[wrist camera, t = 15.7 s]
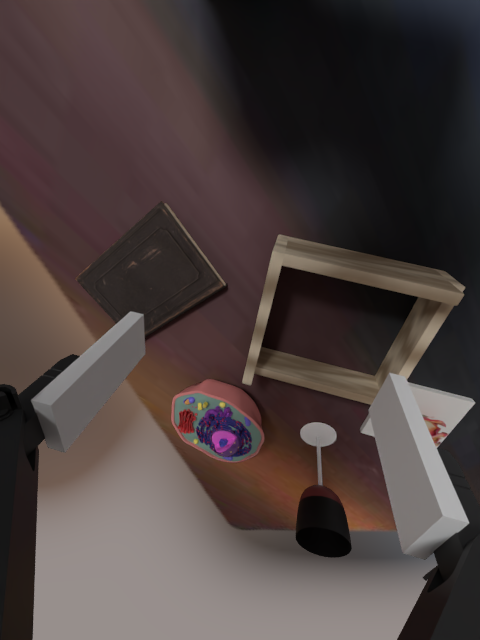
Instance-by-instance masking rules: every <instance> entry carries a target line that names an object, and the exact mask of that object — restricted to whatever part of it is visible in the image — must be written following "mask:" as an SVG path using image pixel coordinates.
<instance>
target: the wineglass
mask: <svg viewBox="0 0 480 640" xmlns="http://www.w3.org/2000/svg"><path fill="white" fill-rule="evenodd" d="M300 435H301V438H302V439H303V441H305V442H306V443H307V444H310V445H312V446H317V466H318V485H313V486H310V487H308V488H307V489H306V490H305V491H304V492H303V494H302V496H301V499H300V502H299V507H298V513H297V523H296V540H297V542H298V543H299V545H300V546H302V547H303V548H304V549H306V550H307V551H309V552H311V553H314V554H317V555H320V556H324V557H342V556H345V555H347V554H349V552H350V551H351V540H350V534H349V528H348V523H347V518H346V514H345V511H344V508H343V505H342V503H341V501H340V499H339V498H338V496H337V495H336V494H335V493H334V492H333V491H332V490H330V489H329V488H327V487H325V486H323V484H322V465H321V447H324V446H328V445H330V444H332V443H333V442H334V441H335V440H336V437H337V435H336V432H335V430H334V429H333V428H332V427H331V426H329V425H327V424H325V423H319V422H313V423H309V424H306V425H305V426H303V427H302V429H301V431H300Z"/></svg>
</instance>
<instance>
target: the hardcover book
mask: <svg viewBox="0 0 480 640" xmlns="http://www.w3.org/2000/svg"><path fill="white" fill-rule="evenodd" d="M75 279H76V280H77V281H78V282H79V284H80V285H81V286H82V287H83V288H84V289H85V290H86V291H87V292H88V293H89V294H90V295H91V297H92V298H93V299H94V300H95V301H96V302H97V303H98V304H99V305H100V306H101V307H102V308H103V310H104V311H105V312H106V313H107V314H108V315H109V316H110V317H111V318H112V319H113V320H114V321H115V323H116V324H117V323H118V322H119V321H120V320H121V319H122V318H124V317H125V316H126V315H127V314H128V313H129V312H130V311H131V312H136V313H140V314H144V334H145V337H146V336H148V335H149V334H151V333H153V332H154V331H156V330H157V329H159V328H161V327H162V326H164V325H165V324H167V323H169V322H170V321H172V320H173V319H175V318H177V317H178V316H180V315H182V314H183V313H185V312H186V311H188V310H190V309H191V308H193V307H194V306H196V305H198V304H199V303H201V302H203V301H204V300H206V299H207V298H209V297H211V296H212V295H214V294H215V293H217V292H219V291H220V290H222V289H224V288H225V287H226V286H227V284H225V282H224V281H223V280H222V278H221V277H220V276H219V274H218V273H217V272H216V270H215V269H214V267H213V266H212V265H211V263H210V262H209V261H208V259H207V258H206V257H205V255H204V254H203V252H202V251H201V250H200V248H199V247H198V246H197V244H196V243H195V242H194V240H193V239H192V237H191V236H190V235H189V233H188V232H187V231H186V229H185V228H184V227H183V225H182V224H181V222H180V221H179V220H178V218H177V217H176V216H175V214H174V213H173V212H172V210H171V209H170V208H169V206H168V205H167V203H166V204H164V203H163V202H162V201H161V202H160V203H159V204H158V205H156V206H155V207H154V208H153V209H152V210H151V211H150V212H149V213H148V214H146V215H145V216H144V217H143V218H142V219H141V220H140V221H139V222H138V223H136V224H135V225H134V226H133V227H132V228H131V229H130V230H129V231H128V232H126V233H125V234H124V235H123V236H122V237H121V238H120V239H119V240H118V241H116V242H115V243H114V244H113V245H112V246H111V247H110V248H109V249H107V250H106V251H105V252H104V253H103V254H102V255H101V256H100V257H99V258H97V259H96V260H95V261H94V262H93V263H92V264H91V265H90V266H89V267H87V268H86V269H85V270H84V271H83V272H82V273H81V274H80V275H79V276H77V277H76V278H75Z"/></svg>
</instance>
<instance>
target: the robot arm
mask: <svg viewBox="0 0 480 640" xmlns="http://www.w3.org/2000/svg"><path fill="white" fill-rule="evenodd" d="M144 355H145V334H144V314H140V313H136V312H131V311H130V312H129V313H128V314H127V315H126V316H125V317H124V318H122V319H121V320H120V321H119V322H118V323H117V324H116V325H115V326H113V327H112V328H111V329H110V330H109V331H108V332H107V333H106V334H105V335H103V336H102V337H101V338H100V339H99V340H98V341H97V342H96V343H94V344H93V345H92V346H91V347H90V348H89V349H88V350H87V351H85V352H84V353H83V354H82V355H81V356H77V355H74V354H72V355H70V356H68V357H66V358H64V359H61V360H60V361H59V362H57V363H56V364H55V365H54V366H53V367H52V368H51V369H50V370H48V371H47V372H45V373H44V375H43V376H41V377H39V378H38V379H37V380H36V381H35V382H33V383H32V384H31V385H30V386H29V387H27V388H26V389H25V390H24V391H23V392H21V393H20V394H19V395H18V394H17V392H16V389H15V388H14V387H12V386H10V385H5V384H2V385H0V640H32V638H33V609H34V578H35V577H34V576H35V550H36V521H37V491H38V490H37V489H38V462H39V450H38V445H39V444H40V443H41V442H42V441H43V440H44V439H45V441H46V444H47V447H48V448H51V449H55V450H58V451H61V452H66V451H67V450H68V448H69V447H70V446H71V445H72V443H73V442H74V441H75V440H76V439H77V437H78V436H79V435H80V434H81V432H82V431H83V430H84V429H85V427H86V426H87V425H88V424H89V423H90V421H91V420H92V419H93V418H94V416H95V415H96V414H97V413H98V411H99V410H100V409H101V408H102V406H103V405H104V404H105V403H106V402H107V400H108V399H109V398H110V397H111V395H112V394H113V393H114V392H115V391H116V389H117V388H118V387H119V386H120V384H121V383H122V382H123V381H124V379H125V378H126V377H127V376H128V374H129V373H130V372H131V371H132V370H133V368H134V367H135V366H136V365H137V363H138V362H139V361H140V360H141V358H142V357H143V356H144ZM369 414H370V418H371V423H372V427H373V431H374V435H375V439H376V444H377V448H378V452H379V456H380V460H381V464H382V469H383V473H384V477H385V481H386V485H387V490H388V494H389V498H390V502H391V506H392V510H393V515H394V519H395V523H396V527H397V531H398V536H399V540H400V544H401V548H402V552H403V553H404V554H408V555H411V556H414V557H418V558H421V559H424V560H425V559H427V558H428V557H429V556H430V555H431V554H433V553H434V554H435V558H436V561H437V564H438V566H436V567H435V568H434V569H432V570H431V571H430V572H428V573H427V574H426V575H425V576H424V577H423V578H424V579H425V580H427V579H428V581H427V583H426V585H425V587H424V589H423V590H422V593H421V594H420V596H419V598H418V600H417V602H416V604H415V606H414V608H413V610H412V612H411V614H410V616H409V618H408V620H407V622H406V623H405V626H404V627H403V629H402V631H401V633H400V635H399V637H398V639H397V640H480V506H479V504H478V502H477V500H476V498H475V496H474V494H473V492H472V491H471V490H470V489H471V488H470V486H469V484H468V482H467V480H465V476H464V474H463V472H462V470H461V468H460V465H459V464H458V462H457V461H456V460H455V459H454V458H453V456H452V455H451V454H450V453H449V452H448V451H447V450H443V449H439V448H436V446H435V444H434V441H433V439H432V437H431V434H430V432H429V430H428V428H427V425H426V423H425V421H424V419H423V416H422V414H421V412H420V409H419V407H418V405H417V403H416V400H415V398H414V396H413V393H412V391H411V389H410V387H409V384H408V382H407V380H406V378H405V376H401V375H397V374H393V373H389V374H388V376H387V378H386V379H385V381H384V383H383V385H382V387H381V388H380V390H379V392H378V394H377V396H376V397H375V399H374V401H373V403H372V404H371V406H370V408H369Z"/></svg>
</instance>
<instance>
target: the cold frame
mask: <svg viewBox="0 0 480 640" xmlns="http://www.w3.org/2000/svg"><path fill="white" fill-rule="evenodd" d="M281 266H287V267H291V268H295V269H300V270H304V271H308V272H313V273H317V274H321V275H326V276H330V277H334V278H339V279H343V280H347V281H352V282H356V283H360V284H365V285H369V286H373V287H378V288H382V289H386V290H391V291H395V292H399V293H404V294H408V295H412V296H417V297H418V299H417V301H416V302H415V304H414V306H413V308H412V310H411V312H410V313H409V315H408V317H407V319H406V321H405V322H404V324H403V326H402V328H401V330H400V331H399V333H398V335H397V337H396V339H395V340H394V342H393V344H392V346H391V348H390V350H389V351H388V353H387V355H386V357H385V359H384V360H383V362H382V364H381V366H380V368H379V369H378V371H377V373H376V375H375V376H373V375H369V374H365V373H361V372H357V371H353V370H349V369H345V368H341V367H338V366H334V365H330V364H326V363H322V362H318V361H314V360H310V359H307V358H303V357H299V356H295V355H291V354H287V353H283V352H279V351H275V350H272V349H268V348H264V347H261V344H262V341H263V337H264V333H265V329H266V325H267V321H268V317H269V313H270V309H271V305H272V302H273V298H274V294H275V290H276V286H277V282H278V278H279V274H280V270H281ZM465 288H466V287H464V286H463V285H462V284H460V283H459V282H458V281H457V280H455V279H454V278H453V277H452V276H450V275H449V274H448V273H447V272H445V271H442V270H437V269H433V268H428V267H424V266H419V265H415V264H410V263H406V262H401V261H397V260H392V259H388V258H383V257H379V256H374V255H370V254H365V253H361V252H356V251H352V250H347V249H343V248H338V247H334V246H329V245H324V244H320V243H315V242H311V241H306V240H302V239H297V238H293V237H288V236H284V235H278V237H277V240H276V243H275V246H274V249H273V252H272V256H271V260H270V264H269V269H268V273H267V277H266V282H265V286H264V290H263V295H262V299H261V303H260V307H259V312H258V316H257V320H256V325H255V329H254V333H253V338H252V342H251V346H250V351H249V355H248V359H247V363H246V368H245V372H244V376H243V381H242V383H244V384H247V385H251V384H252V380H253V376H254V374H258V375H261V376H265V377H269V378H273V379H276V380H280V381H284V382H288V383H291V384H295V385H299V386H303V387H306V388H310V389H314V390H318V391H321V392H325V393H329V394H333V395H336V396H340V397H344V398H348V399H351V400H355V401H359V402H363V403H366V404H370V405H371V404H372V403H373V401H374V399H375V397H376V396H377V394H378V392H379V390H380V388H381V387H382V385H383V383H384V381H385V379H386V378H387V376H388V374H389V373H393V374H397V375H401V376H405V378H406V380H407V379H408V377H409V376H410V374H411V372H412V371H413V369H414V368H415V366H416V365H417V363H418V361H419V360H420V358H421V357H422V355H423V354H424V352H425V350H426V349H427V347H428V346H429V344H430V343H431V341H432V339H433V338H434V336H435V335H436V333H437V332H438V330H439V328H440V327H441V325H442V324H443V322H444V321H445V319H446V317H447V316H448V314H449V313H450V311H451V310H452V308H453V306H454V305H456V306H457V305H458V304H459V302H460V301H461V299H462V298H463V296H464V295H465V294H463V293H462V292H463V291H464V289H465Z"/></svg>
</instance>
